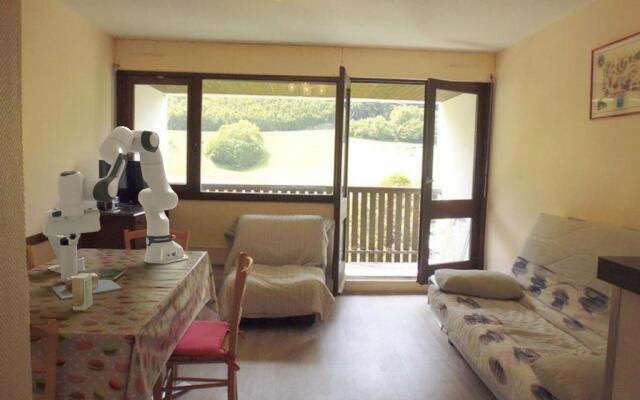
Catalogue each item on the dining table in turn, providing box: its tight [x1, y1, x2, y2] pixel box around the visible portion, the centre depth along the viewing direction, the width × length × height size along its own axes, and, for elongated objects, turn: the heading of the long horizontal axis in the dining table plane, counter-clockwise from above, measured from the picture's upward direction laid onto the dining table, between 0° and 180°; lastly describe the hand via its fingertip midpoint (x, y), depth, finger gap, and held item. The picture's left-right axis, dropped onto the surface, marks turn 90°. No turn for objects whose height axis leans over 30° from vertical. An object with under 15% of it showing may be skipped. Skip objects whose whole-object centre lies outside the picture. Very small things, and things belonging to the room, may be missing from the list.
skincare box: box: [72, 272, 93, 311], centre depth 153 cm, size 6×4×12 cm
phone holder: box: [46, 235, 86, 274], centre depth 202 cm, size 17×10×18 cm, turn 59°
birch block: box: [64, 272, 99, 292], centre depth 173 cm, size 5×5×11 cm
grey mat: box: [51, 279, 123, 301], centre depth 175 cm, size 22×18×1 cm
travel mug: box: [60, 234, 78, 284], centre depth 183 cm, size 6×7×20 cm
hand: (73, 244), depth 171 cm, fingers closed
